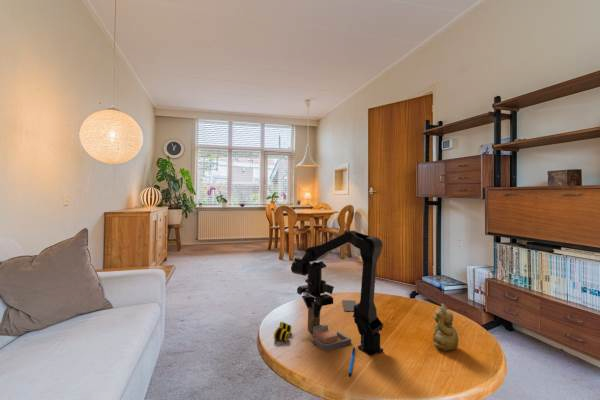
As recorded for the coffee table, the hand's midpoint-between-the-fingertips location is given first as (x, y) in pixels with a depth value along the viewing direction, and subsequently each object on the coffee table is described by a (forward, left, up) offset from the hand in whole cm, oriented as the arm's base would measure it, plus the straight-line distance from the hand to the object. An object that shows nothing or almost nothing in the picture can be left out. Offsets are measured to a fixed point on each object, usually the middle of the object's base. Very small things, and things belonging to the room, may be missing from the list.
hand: (314, 316), depth 123 cm
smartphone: (+15, -31, -6) cm, 35 cm away
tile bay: (-12, 0, -6) cm, 14 cm away
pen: (-26, +2, -6) cm, 27 cm away
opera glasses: (+1, +14, -6) cm, 15 cm away
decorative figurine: (-35, -34, -6) cm, 49 cm away
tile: (-9, 0, -6) cm, 10 cm away
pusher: (-2, 0, -6) cm, 6 cm away
